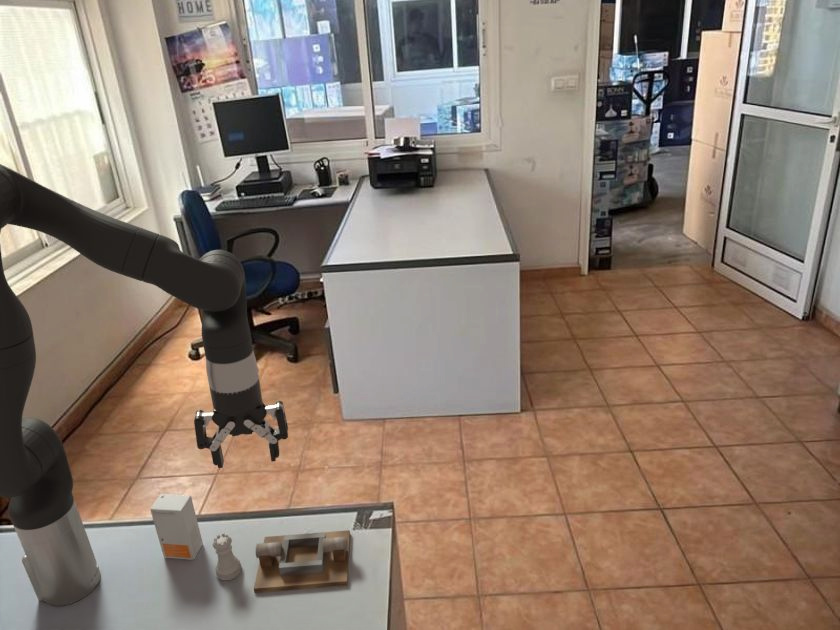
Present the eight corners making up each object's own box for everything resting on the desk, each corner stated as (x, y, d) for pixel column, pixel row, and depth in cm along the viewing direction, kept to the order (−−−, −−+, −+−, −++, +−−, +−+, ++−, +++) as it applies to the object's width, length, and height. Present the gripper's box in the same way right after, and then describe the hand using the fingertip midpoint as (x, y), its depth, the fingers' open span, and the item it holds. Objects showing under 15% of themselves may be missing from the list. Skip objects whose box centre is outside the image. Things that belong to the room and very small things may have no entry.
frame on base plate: (254, 592, 111) (250, 572, 109) (265, 540, 122) (261, 521, 120) (347, 585, 111) (344, 565, 109) (350, 534, 122) (347, 514, 120)
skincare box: (163, 559, 119) (148, 509, 114) (174, 541, 123) (160, 492, 117) (194, 561, 118) (180, 511, 113) (204, 543, 122) (191, 494, 116)
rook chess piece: (235, 583, 113) (227, 549, 109) (211, 580, 114) (203, 546, 110) (246, 563, 117) (238, 530, 113) (223, 560, 118) (215, 527, 114)
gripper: (182, 396, 95) (200, 482, 102) (280, 385, 98) (291, 470, 105) (189, 370, 102) (206, 453, 109) (280, 361, 104) (291, 442, 111)
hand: (247, 461), depth 107 cm, fingers open, 8 cm apart
